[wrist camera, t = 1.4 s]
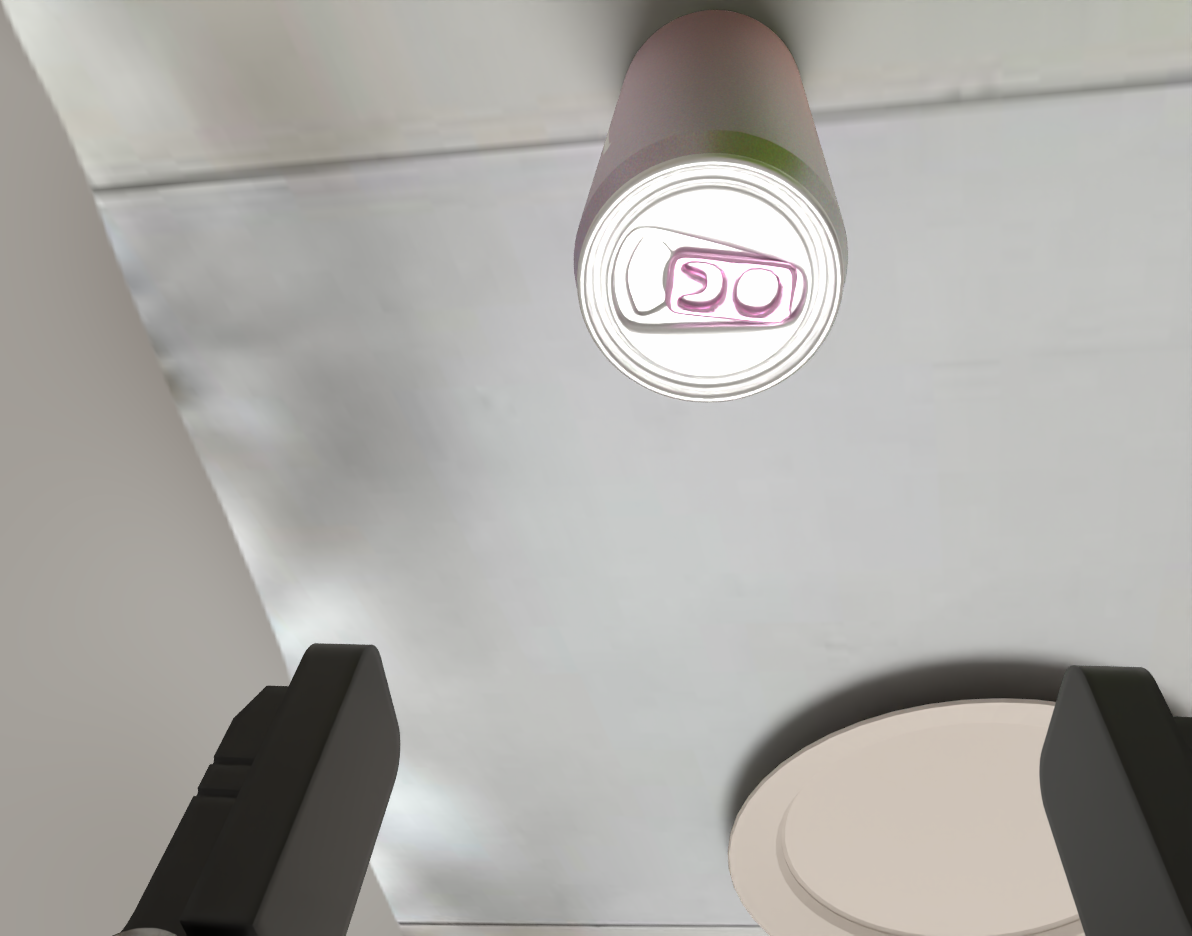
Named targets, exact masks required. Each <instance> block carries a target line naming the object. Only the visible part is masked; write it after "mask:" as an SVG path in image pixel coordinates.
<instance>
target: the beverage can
mask: <svg viewBox="0 0 1192 936" xmlns="http://www.w3.org/2000/svg"><path fill="white" fill-rule="evenodd" d="M847 264H848V246H847V237H846V231H845V227H844V223H843V219H842V216H841V213H840V209H839V206H838V202H837V199H836V196H835V192H834V189H833V185H832V182H831V179H830V175H829V172H828V169H827V165H826V162H825V158H824V155H823V152H822V148H821V145H820V141H819V138H818V135H817V131H816V128H815V125H814V121H813V118H812V114H811V111H810V108H809V104H808V101H807V98H806V94H805V91H804V87H803V84H802V81H801V77H800V74H799V71H798V68H797V65H796V63H795V61H794V58H793V57H792V55H791V53H790V51H789V50H788V48H787V47H786V45H785V44H784V43H783V41H782V40H781V39H780V38H779V37H778V36H777V35H776V34H775V33H774V32H773V31H772V30H771V29H769V28H768V27H767V26H765V25H764V24H762V23H761V22H759V21H757V20H755V19H753V18H751V17H749V16H746V15H743V14H740V13H737V12H732V11H725V10H706V11H699V12H694V13H690V14H687V15H684V16H682V17H679V18H677V19H675V20H673V21H671V22H669V23H668V24H666V25H664V26H663V27H662V28H660V29H659V30H658V31H656V32H655V33H654V34H653V35H652V36H651V37H650V38H649V39H648V40H647V41H646V42H645V43H644V44H643V45H642V47H641V48H640V49H639V51H638V52H637V54H636V55H635V57H634V59H633V60H632V62H631V64H630V66H629V69H628V71H627V74H626V76H625V79H624V82H623V86H622V89H621V92H620V95H619V99H618V102H617V105H616V108H615V111H614V115H613V118H612V121H611V124H610V128H609V131H608V134H607V137H606V140H605V144H604V147H603V150H602V153H601V157H600V160H599V163H598V166H597V170H596V173H595V176H594V179H593V182H592V186H591V189H590V192H589V195H588V199H587V202H586V205H585V208H584V211H583V215H582V218H581V221H580V224H579V228H578V232H577V236H576V241H575V249H574V274H575V280H576V286H577V291H578V299H579V305H580V309H581V313H582V316H583V319H584V322H585V324H586V327H587V329H588V331H589V333H590V335H591V337H592V339H593V340H594V342H595V344H596V345H597V347H598V348H599V349H600V351H601V352H602V353H603V355H604V356H605V357H606V358H607V359H608V360H609V361H610V362H611V363H612V364H613V365H614V366H615V367H616V368H617V369H618V370H619V371H620V372H621V373H623V374H624V375H625V376H627V377H628V378H629V379H631V380H633V381H634V382H636V383H637V384H639V385H641V386H643V387H645V388H647V389H649V390H651V391H653V392H656V393H658V394H661V395H664V396H667V397H671V398H675V399H679V400H685V401H692V402H723V401H731V400H736V399H741V398H745V397H748V396H751V395H754V394H757V393H760V392H762V391H765V390H767V389H769V388H771V387H773V386H775V385H777V384H779V383H780V382H782V381H784V380H785V379H787V378H788V377H790V376H791V375H793V374H794V373H795V372H796V371H798V370H799V369H800V368H801V367H802V366H803V365H805V364H806V363H807V362H808V361H809V360H810V358H811V357H812V356H813V355H814V354H815V353H816V352H817V350H818V349H819V348H820V347H821V345H822V344H823V342H824V341H825V339H826V337H827V336H828V334H829V332H830V330H831V328H832V326H833V324H834V322H835V319H836V317H837V314H838V311H839V307H840V304H841V299H842V294H843V287H844V283H845V278H846V273H847Z"/></svg>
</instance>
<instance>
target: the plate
mask: <svg viewBox="0 0 1192 936" xmlns="http://www.w3.org/2000/svg"><path fill="white" fill-rule="evenodd" d="M1055 704H1056V702H1052V701H1044V700H1033V699H1008V698H993V699H970V700H958V701H950V702H942V703H934V704H926V705H922V706H917V707H912V708H908V709H903V710H898V711H893V712H890V713H886V714H883V715H880V716H877V717H873V718H870V719H867V720H863V721H860V722H858V723H855V724H853V725H850V726H848V727H845V728H843V729H840V730H838V731H836V732H833V733H831V734H829V735H827V736H825V737H823V738H821V739H819V740H817V741H815V742H814V743H812V744H810V745H808V746H806V747H804V748H803V749H801V750H800V751H798V752H797V753H795V754H794V755H792V756H791V757H789V758H788V759H787V760H785V761H784V762H782V763H781V764H780V765H779V766H777V767H776V768H775V769H774V770H773V771H772V772H771V773H770V774H768V775H767V776H766V777H765V778H764V779H763V780H762V781H761V782H760V783H759V784H758V786H757V787H756V788H755V789H754V790H753V792H752V793H751V794H750V795H749V796H748V798H747V799H746V801H745V803H744V804H743V806H742V808H741V809H740V811H739V813H738V814H737V817H736V819H735V822H734V825H733V828H732V830H731V833H730V840H729V846H728V863H729V871H730V875H731V878H732V882H733V885H734V888H735V890H736V892H737V894H738V896H739V898H740V900H741V902H742V904H743V905H744V907H745V908H746V910H747V911H748V912H749V914H750V915H751V916H752V918H753V919H754V920H755V921H756V922H757V923H758V924H759V925H760V926H761V927H762V928H763V929H764V930H765V931H766V932H767V933H768V934H769V935H770V936H1085V933H1084V930H1083V927H1082V924H1081V921H1080V918H1079V914H1078V911H1077V908H1076V905H1075V902H1074V899H1073V896H1072V893H1071V890H1070V887H1069V884H1068V881H1067V877H1066V874H1065V871H1064V868H1063V865H1062V862H1061V859H1060V856H1059V853H1058V850H1057V847H1056V844H1055V840H1054V837H1053V834H1052V831H1051V828H1050V825H1049V822H1048V819H1047V816H1046V813H1045V809H1044V806H1043V801H1042V796H1041V790H1040V778H1039V766H1040V756H1041V751H1042V748H1043V744H1044V741H1045V737H1046V734H1047V731H1048V727H1049V724H1050V721H1051V717H1052V714H1053V710H1054V707H1055Z"/></svg>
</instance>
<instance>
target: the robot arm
mask: <svg viewBox="0 0 1192 936" xmlns="http://www.w3.org/2000/svg"><path fill="white" fill-rule="evenodd" d="M399 758H400V732H399V726H398V722H397V718H396V714H395V710H394V706H393V703H392V699H391V695H390V691H389V687H388V683H387V679H386V676H385V672H384V668H383V664H382V660H381V657H380V653H379V651H378V649H377V648H376V647H375V646H374V645H357V644H318V643H314V644H312V645H311V646H310V647H309V648H308V649H307V650H306V652H305V653H304V655H303V657H302V659H301V662H300V664H299V666H298V668H297V670H296V672H295V674H294V676H293V679H292V681H291V683H290V685H289V686H288V687H287V686H266V687H265V688H264V689H263V690H262V691H261V692H260V693H259V694H258V695H257V696H256V697H255V698H254V699H253V700H252V701H251V702H250V703H249V704H248V705H247V706H246V707H245V708H244V709H243V710H242V711H241V712H240V713H239V714H238V715H237V716H235V717H234V718H233V720H232V722H231V724H230V726H229V728H228V730H227V732H226V734H225V736H224V738H223V740H222V742H221V744H220V746H219V748H218V750H217V752H216V754H215V755H214V763H213V764H210V765H209V767H208V769H207V771H206V773H205V775H204V777H203V779H202V781H201V783H200V785H199V787H198V794H197V796H194V797H193V798H192V800H191V802H190V804H189V806H188V808H187V810H186V812H185V814H184V816H183V818H182V820H181V822H180V823H179V825H178V828H177V829H176V831H175V833H174V835H173V837H172V839H171V841H170V843H169V845H168V847H167V849H166V851H165V853H164V855H163V857H162V859H161V860H160V863H159V864H158V866H157V868H156V870H155V872H154V874H153V876H152V878H151V880H150V882H149V884H148V886H147V888H146V890H145V892H144V894H143V896H142V898H141V899H140V901H139V904H138V905H137V907H136V909H135V911H134V913H133V915H132V916H131V918H130V920H129V921H128V923H127V925H126V926H125V927H124V929H123V930H122V931H121V932H120V933H118V934H115V935H113V936H346V933H347V930H348V927H349V924H350V920H351V917H352V914H353V911H354V908H355V905H356V902H357V899H358V896H359V893H360V889H361V886H362V883H363V880H364V877H365V874H366V871H367V867H368V864H369V861H370V858H371V855H372V852H373V849H374V845H375V842H376V839H377V836H378V833H379V830H380V827H381V824H382V820H383V817H384V814H385V811H386V808H387V805H388V802H389V798H390V795H391V792H392V789H393V786H394V783H395V779H396V776H397V771H398V765H399ZM1039 778H1040V790H1041V796H1042V801H1043V806H1044V809H1045V813H1046V816H1047V819H1048V822H1049V825H1050V828H1051V831H1052V834H1053V837H1054V840H1055V844H1056V847H1057V850H1058V853H1059V856H1060V859H1061V862H1062V865H1063V868H1064V871H1065V874H1066V877H1067V881H1068V884H1069V887H1070V890H1071V893H1072V896H1073V899H1074V902H1075V905H1076V908H1077V911H1078V914H1079V918H1080V921H1081V924H1082V927H1083V930H1084V933H1085V936H1192V717H1173V715H1172V713H1171V711H1170V709H1169V707H1168V705H1167V703H1166V701H1165V699H1164V697H1163V695H1162V693H1161V691H1160V689H1159V687H1158V685H1157V683H1156V681H1155V680H1154V678H1153V676H1152V675H1151V674H1150V672H1149V671H1147V670H1146V669H1145V668H1142V667H1110V666H1070V667H1069V668H1068V669H1067V670H1066V672H1065V674H1064V677H1063V680H1062V683H1061V687H1060V690H1059V693H1058V697H1057V700H1056V704H1055V707H1054V710H1053V714H1052V717H1051V721H1050V724H1049V727H1048V731H1047V734H1046V737H1045V741H1044V744H1043V748H1042V751H1041V756H1040V766H1039Z"/></svg>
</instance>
